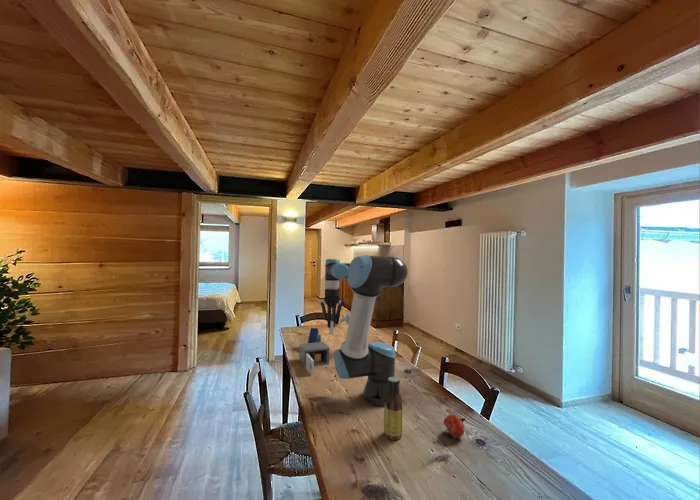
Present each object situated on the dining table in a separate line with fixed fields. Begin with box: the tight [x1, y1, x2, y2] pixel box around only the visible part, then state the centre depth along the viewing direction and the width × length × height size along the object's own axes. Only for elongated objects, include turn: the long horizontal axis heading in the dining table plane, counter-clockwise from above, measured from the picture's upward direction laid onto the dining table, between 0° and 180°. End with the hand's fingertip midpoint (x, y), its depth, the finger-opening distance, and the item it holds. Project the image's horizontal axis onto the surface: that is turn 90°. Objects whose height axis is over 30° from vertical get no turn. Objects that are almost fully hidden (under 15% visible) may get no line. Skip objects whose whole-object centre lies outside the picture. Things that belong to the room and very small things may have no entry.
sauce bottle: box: [383, 376, 404, 441], centre depth 105 cm, size 6×6×20 cm
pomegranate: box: [442, 414, 467, 439], centre depth 107 cm, size 7×7×10 cm
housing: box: [299, 341, 330, 368], centre depth 173 cm, size 12×14×9 cm
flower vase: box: [339, 312, 350, 326], centre depth 189 cm, size 13×18×25 cm
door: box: [305, 353, 315, 375], centre depth 159 cm, size 2×12×7 cm, turn 23°
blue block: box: [307, 327, 322, 343], centre depth 195 cm, size 6×20×15 cm, turn 175°
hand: (331, 333), depth 159 cm, fingers closed
